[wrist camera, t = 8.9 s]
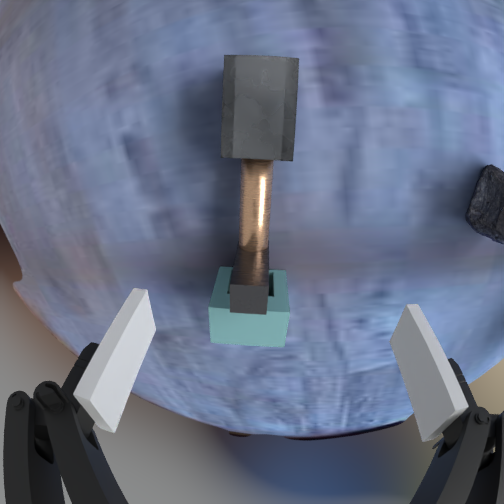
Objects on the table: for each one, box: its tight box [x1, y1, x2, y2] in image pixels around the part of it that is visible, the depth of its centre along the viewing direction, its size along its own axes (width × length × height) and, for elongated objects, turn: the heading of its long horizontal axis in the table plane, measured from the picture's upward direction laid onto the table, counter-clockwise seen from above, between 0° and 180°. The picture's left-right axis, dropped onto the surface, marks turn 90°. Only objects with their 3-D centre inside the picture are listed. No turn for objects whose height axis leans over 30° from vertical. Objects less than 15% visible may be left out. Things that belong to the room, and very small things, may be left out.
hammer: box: [230, 158, 274, 315], centre depth 26 cm, size 20×3×9 cm, turn 178°
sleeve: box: [221, 55, 299, 161], centre depth 23 cm, size 9×6×6 cm, turn 178°
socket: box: [208, 267, 290, 347], centre depth 32 cm, size 5×8×8 cm, turn 88°
